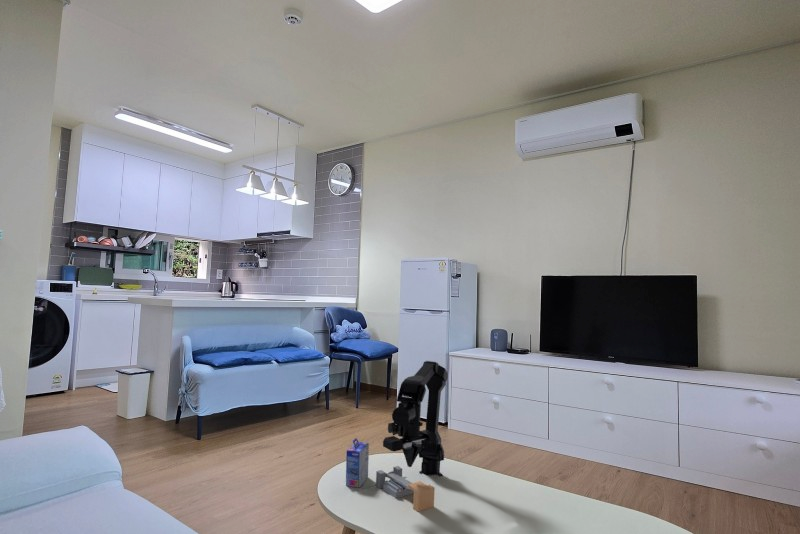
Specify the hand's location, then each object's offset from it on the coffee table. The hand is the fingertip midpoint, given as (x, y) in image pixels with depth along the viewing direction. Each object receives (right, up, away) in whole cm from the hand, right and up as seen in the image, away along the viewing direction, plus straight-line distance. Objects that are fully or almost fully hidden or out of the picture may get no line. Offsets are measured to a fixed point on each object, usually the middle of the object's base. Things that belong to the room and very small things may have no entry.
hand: (409, 466), depth 142 cm
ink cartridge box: (-19, -11, +12) cm, 25 cm away
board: (-2, -11, +1) cm, 11 cm away
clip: (+3, -10, -5) cm, 11 cm away
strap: (-3, -7, +4) cm, 9 cm away
